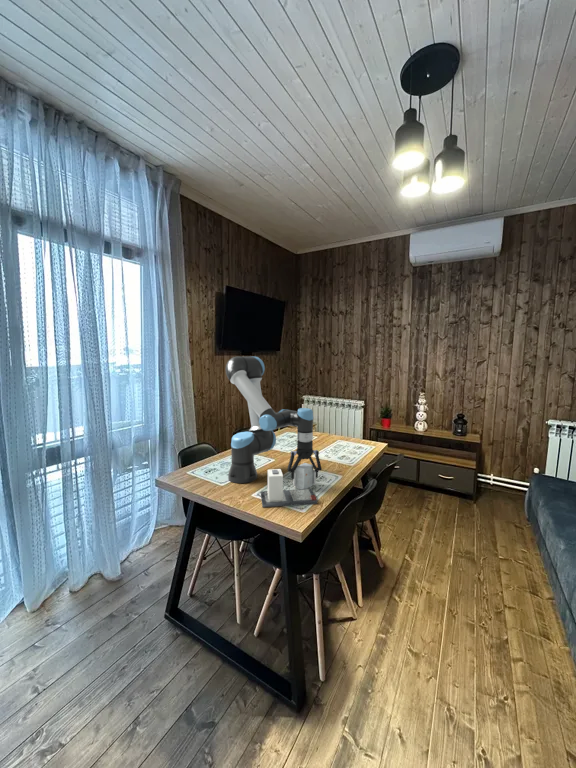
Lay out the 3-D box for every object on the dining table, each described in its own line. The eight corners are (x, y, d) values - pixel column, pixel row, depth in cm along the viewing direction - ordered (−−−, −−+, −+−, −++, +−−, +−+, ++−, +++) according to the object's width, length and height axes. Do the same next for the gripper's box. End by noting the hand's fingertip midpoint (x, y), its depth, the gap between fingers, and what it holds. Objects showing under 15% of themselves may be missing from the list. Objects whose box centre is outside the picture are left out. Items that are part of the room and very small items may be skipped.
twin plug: (269, 500, 133) (269, 475, 132) (267, 492, 141) (267, 468, 140) (282, 500, 134) (283, 474, 133) (280, 491, 142) (280, 467, 141)
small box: (304, 482, 157) (304, 462, 156) (313, 485, 154) (313, 465, 152) (294, 487, 151) (295, 466, 150) (304, 490, 147) (304, 469, 146)
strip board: (262, 507, 131) (262, 502, 131) (260, 494, 143) (260, 489, 143) (317, 503, 135) (317, 498, 135) (311, 491, 147) (311, 486, 146)
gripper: (283, 443, 144) (283, 488, 147) (329, 441, 148) (328, 486, 150) (281, 438, 152) (281, 482, 154) (324, 437, 155) (323, 480, 157)
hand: (304, 484), depth 152 cm, fingers closed on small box, 9 cm apart
